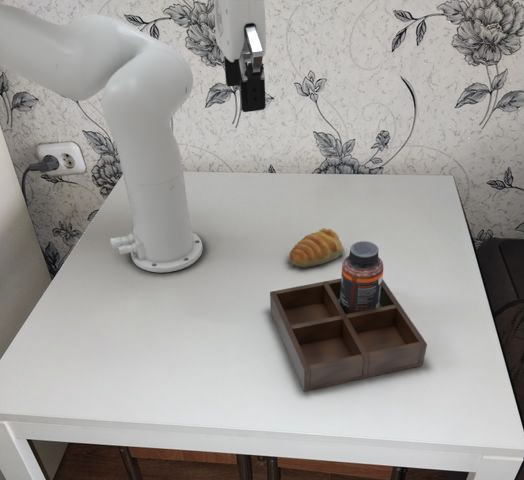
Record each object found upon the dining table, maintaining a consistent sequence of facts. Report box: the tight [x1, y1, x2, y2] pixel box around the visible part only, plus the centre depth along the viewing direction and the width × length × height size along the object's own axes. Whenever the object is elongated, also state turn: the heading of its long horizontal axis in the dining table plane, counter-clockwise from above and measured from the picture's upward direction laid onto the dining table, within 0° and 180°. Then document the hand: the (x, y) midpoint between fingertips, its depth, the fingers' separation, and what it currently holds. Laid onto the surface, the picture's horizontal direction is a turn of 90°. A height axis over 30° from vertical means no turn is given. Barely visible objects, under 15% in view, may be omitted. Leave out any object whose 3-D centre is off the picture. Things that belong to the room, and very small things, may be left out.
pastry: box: [289, 227, 344, 269], centre depth 101 cm, size 9×7×4 cm
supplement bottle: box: [340, 240, 384, 314], centre depth 86 cm, size 6×6×11 cm
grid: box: [269, 278, 428, 392], centre depth 86 cm, size 17×17×4 cm
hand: (245, 96), depth 82 cm, fingers open, 9 cm apart
